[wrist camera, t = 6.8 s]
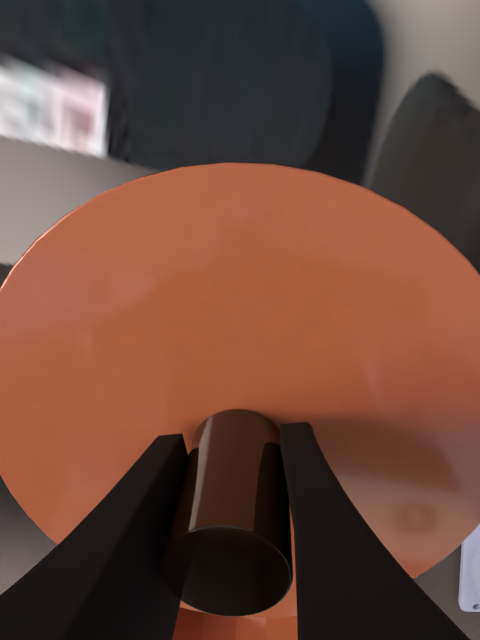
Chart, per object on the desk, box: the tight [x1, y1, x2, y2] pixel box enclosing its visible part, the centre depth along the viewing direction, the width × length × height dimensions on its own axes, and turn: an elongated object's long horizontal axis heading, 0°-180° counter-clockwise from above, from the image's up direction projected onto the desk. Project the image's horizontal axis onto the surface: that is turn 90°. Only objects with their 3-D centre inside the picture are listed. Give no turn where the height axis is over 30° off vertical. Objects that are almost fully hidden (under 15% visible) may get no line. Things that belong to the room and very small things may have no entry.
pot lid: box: [0, 161, 480, 618], centre depth 10 cm, size 14×14×4 cm
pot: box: [172, 607, 298, 640], centre depth 24 cm, size 13×18×5 cm
